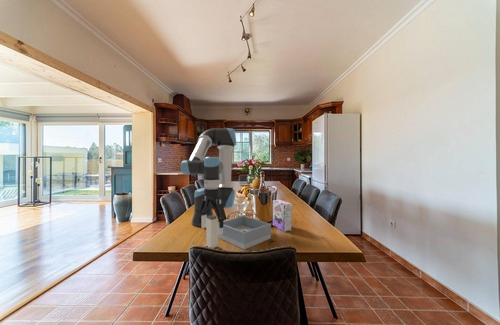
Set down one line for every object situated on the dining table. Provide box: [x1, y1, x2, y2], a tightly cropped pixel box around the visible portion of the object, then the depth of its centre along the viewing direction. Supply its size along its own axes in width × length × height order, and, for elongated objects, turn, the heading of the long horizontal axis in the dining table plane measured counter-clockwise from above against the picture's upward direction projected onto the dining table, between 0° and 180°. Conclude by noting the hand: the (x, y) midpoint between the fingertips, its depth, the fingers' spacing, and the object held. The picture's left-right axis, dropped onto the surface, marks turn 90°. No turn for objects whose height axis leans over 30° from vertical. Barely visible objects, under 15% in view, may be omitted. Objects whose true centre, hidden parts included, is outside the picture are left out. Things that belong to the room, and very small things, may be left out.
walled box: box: [218, 215, 272, 250], centre depth 118 cm, size 22×20×8 cm
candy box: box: [272, 199, 293, 233], centre depth 134 cm, size 14×6×16 cm, turn 23°
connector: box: [205, 214, 219, 249], centre depth 107 cm, size 4×4×15 cm
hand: (211, 230), depth 106 cm, fingers open, 13 cm apart
